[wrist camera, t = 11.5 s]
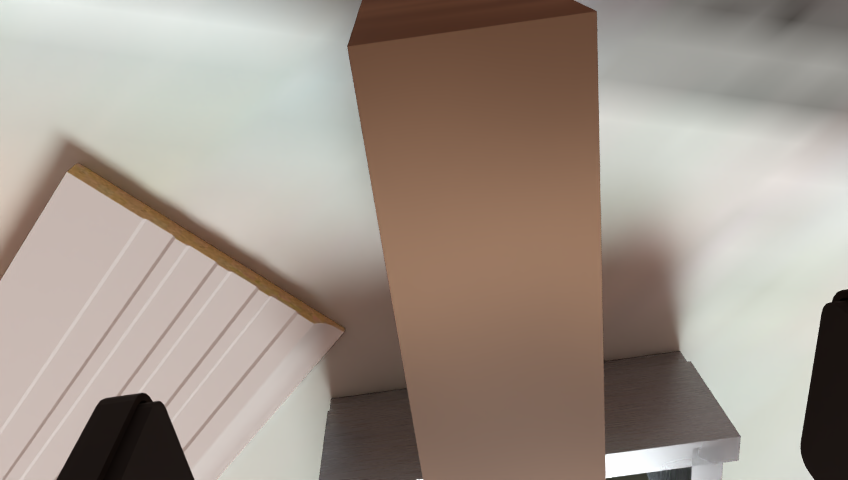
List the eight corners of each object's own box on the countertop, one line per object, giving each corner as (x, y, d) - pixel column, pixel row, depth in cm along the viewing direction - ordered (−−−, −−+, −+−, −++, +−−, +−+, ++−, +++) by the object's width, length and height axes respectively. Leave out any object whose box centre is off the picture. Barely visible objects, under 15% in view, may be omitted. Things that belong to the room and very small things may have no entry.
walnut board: (372, -32, 20) (347, 47, 8) (475, -47, 20) (597, 11, 8) (425, 316, 25) (456, 670, 13) (506, 305, 25) (609, 650, 13)
